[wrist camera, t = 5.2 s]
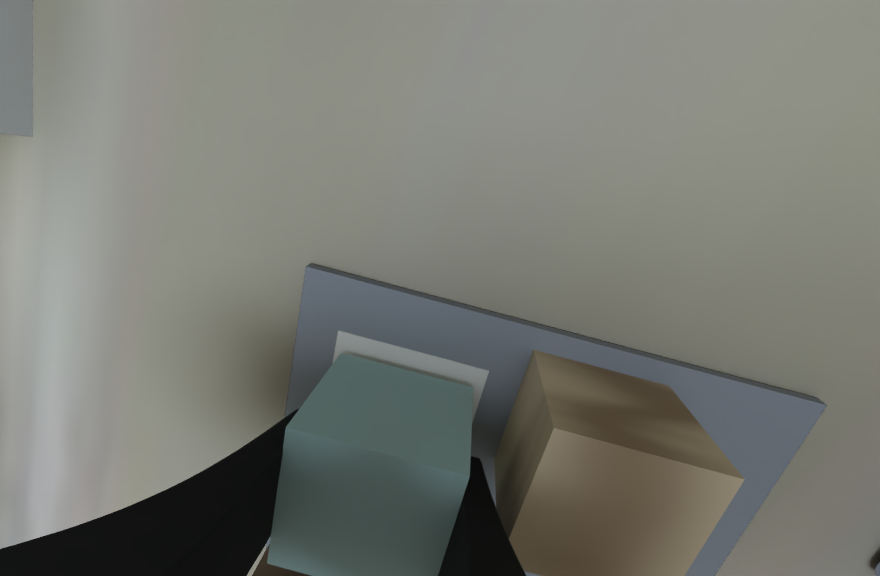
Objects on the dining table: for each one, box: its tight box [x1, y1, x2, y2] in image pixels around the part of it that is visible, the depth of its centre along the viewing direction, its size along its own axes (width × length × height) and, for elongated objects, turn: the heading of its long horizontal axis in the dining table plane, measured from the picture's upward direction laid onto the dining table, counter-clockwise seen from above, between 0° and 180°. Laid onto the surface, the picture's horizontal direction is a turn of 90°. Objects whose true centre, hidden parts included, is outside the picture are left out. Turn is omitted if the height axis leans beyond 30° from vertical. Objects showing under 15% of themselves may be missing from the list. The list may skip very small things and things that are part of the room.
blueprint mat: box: [266, 264, 827, 576], centre depth 16 cm, size 17×18×1 cm
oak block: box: [494, 350, 745, 576], centre depth 12 cm, size 4×4×4 cm
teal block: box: [267, 353, 473, 576], centre depth 12 cm, size 4×4×4 cm
